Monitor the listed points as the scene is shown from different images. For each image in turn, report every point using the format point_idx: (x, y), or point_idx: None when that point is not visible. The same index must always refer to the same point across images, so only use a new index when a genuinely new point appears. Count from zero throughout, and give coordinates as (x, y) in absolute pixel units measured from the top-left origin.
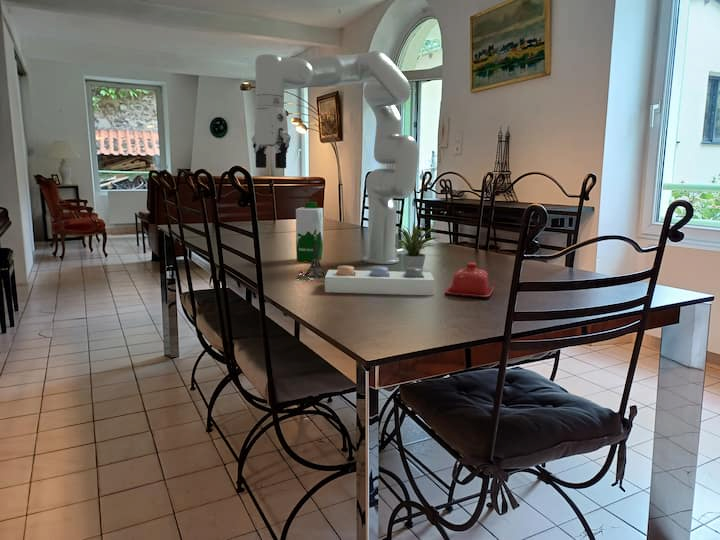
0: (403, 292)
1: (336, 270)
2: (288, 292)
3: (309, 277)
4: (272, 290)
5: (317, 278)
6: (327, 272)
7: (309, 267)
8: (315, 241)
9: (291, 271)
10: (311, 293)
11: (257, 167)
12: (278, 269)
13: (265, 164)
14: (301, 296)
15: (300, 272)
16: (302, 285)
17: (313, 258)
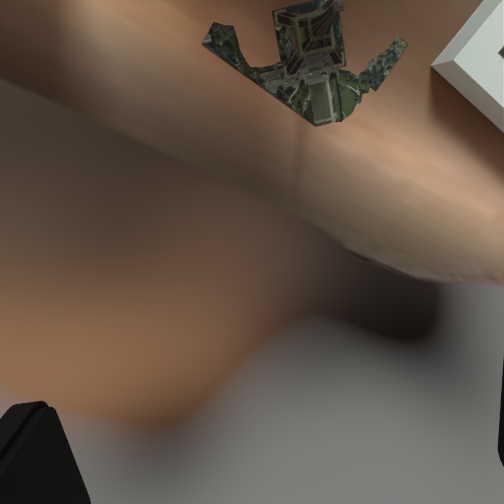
0: None
1: (482, 41)
2: (444, 223)
3: (316, 71)
4: (401, 248)
5: (343, 53)
6: (489, 92)
7: (302, 56)
8: (334, 12)
9: (190, 74)
10: (493, 176)
11: (84, 500)
12: (137, 100)
13: (36, 442)
14: (501, 214)
15: (225, 55)
16: (398, 150)
17: (316, 36)
